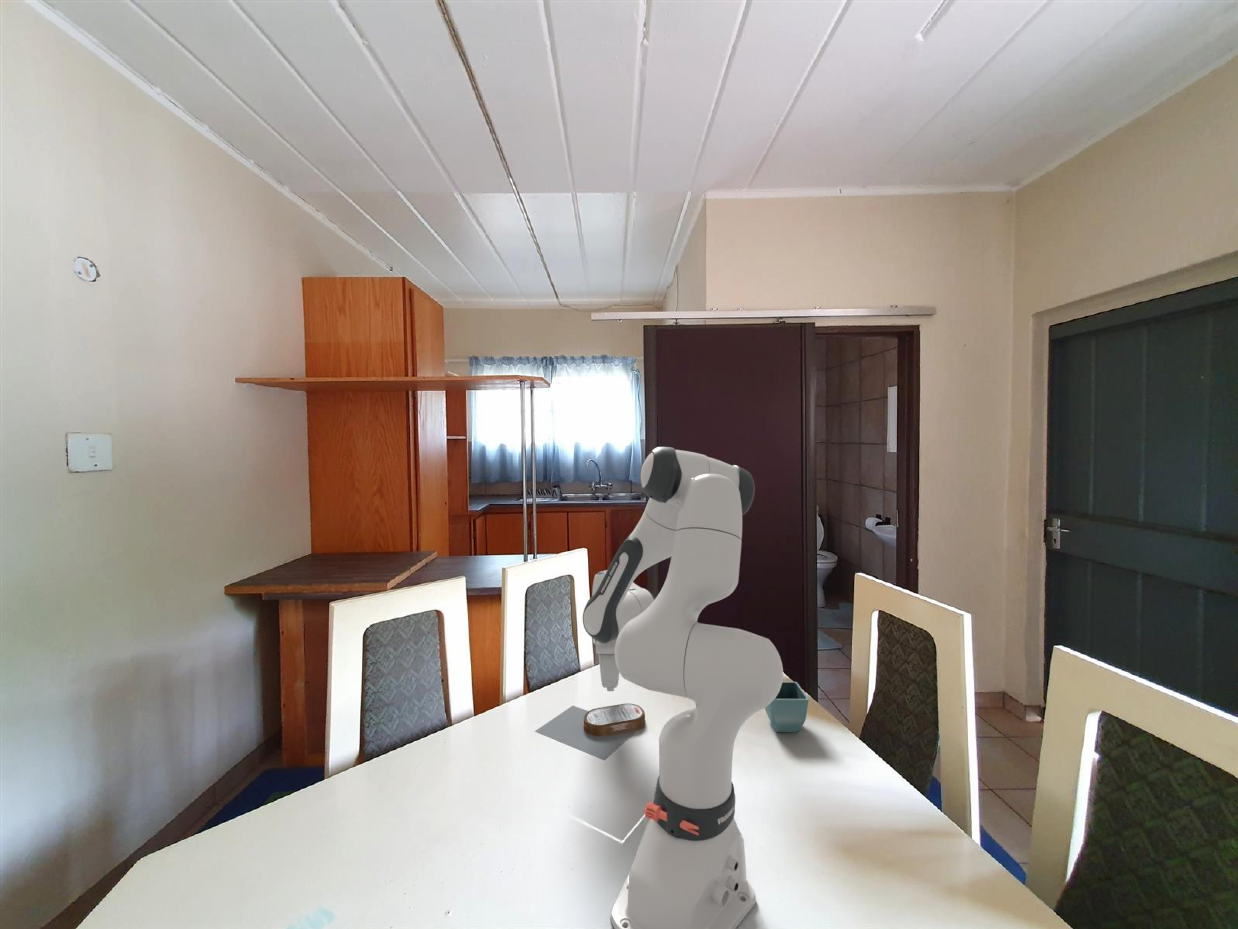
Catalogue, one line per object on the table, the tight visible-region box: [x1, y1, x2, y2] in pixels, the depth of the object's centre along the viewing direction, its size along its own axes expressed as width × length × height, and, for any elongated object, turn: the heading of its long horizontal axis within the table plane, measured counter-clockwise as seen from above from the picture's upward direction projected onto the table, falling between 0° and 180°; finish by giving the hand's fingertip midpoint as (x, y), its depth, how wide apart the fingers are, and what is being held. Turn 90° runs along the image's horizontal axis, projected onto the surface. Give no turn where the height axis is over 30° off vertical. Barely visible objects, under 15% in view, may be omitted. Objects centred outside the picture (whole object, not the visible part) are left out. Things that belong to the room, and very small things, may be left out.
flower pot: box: [764, 681, 810, 733], centre depth 118 cm, size 9×9×9 cm
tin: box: [583, 703, 646, 737], centre depth 119 cm, size 15×3×8 cm
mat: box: [534, 705, 639, 761], centre depth 117 cm, size 14×20×1 cm
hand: (610, 688), depth 124 cm, fingers closed
